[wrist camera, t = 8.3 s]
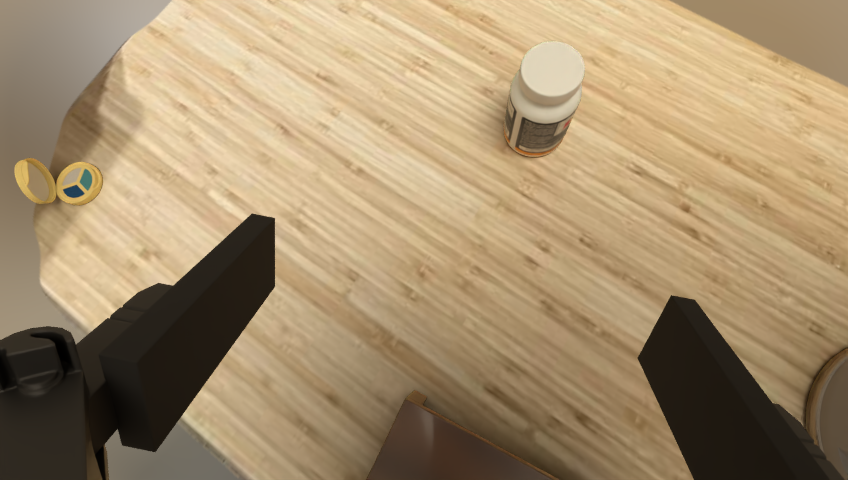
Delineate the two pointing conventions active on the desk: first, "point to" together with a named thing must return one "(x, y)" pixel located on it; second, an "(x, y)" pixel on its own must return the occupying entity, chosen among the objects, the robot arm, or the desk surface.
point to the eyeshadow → (58, 182)
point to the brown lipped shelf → (443, 451)
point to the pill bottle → (543, 98)
